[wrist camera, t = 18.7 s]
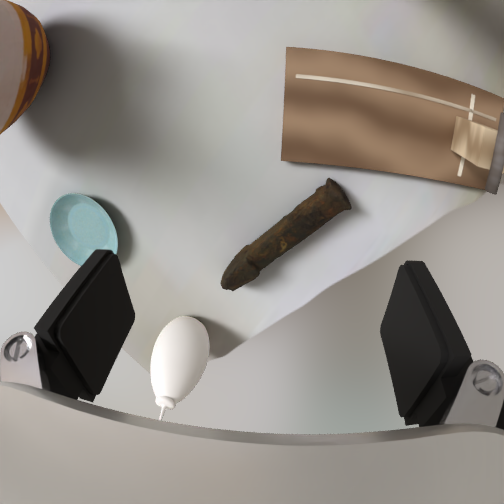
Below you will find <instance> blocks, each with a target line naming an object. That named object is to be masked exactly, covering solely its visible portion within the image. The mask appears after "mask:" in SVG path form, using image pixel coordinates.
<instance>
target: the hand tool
mask: <svg viewBox="0 0 504 504" xmlns="http://www.w3.org/2000/svg"><path fill="white" fill-rule="evenodd" d="M350 209H352V207H351V204H350V202H349V199H348V198H347V196H346V194H345V193H344V191H343V190H342V189H341V187H340V186H339V185H338V184H337V183H336V181H333V180H332V179H330V178H328V179H327V181H326V184H325V185H324V186H321V187H319V188H317V189H316V192H315V193H314V194H313V195H311V196H310V197H309V198H307V199H306V200H304V201H303V202H302V203H301V204H299V205H298V206H297V207H296V208H295V209H294V210H293V211H292V212H291V213H289V214H288V215H286V216H284V217H283V219H281V220H280V221H279V222H278V223H277V224H275V225H274V226H273V227H272V228H270V229H269V230H268V231H267V232H265V233H264V234H263V235H262V236H260V237H259V238H258V239H257V240H255V241H254V242H253V243H252V244H250V245H246V246H245V247H244V248H243V249H242V250H241V251H240V252H239V253H238V254H237V255H236V256H235V258H234V259H233V260H232V261H231V263H230V264H229V266H228V267H227V269H226V270H225V272H224V274H223V276H222V280H221V286H222V288H223V289H226V290H228V289H229V290H232V291H234V290H236V289H237V288H239V287H241V286H242V285H244V284H246V283H248V282H250V281H252V280H254V279H255V278H256V277H257V276H259V273H260V271H261V270H262V269H263V268H265V267H266V266H267V265H269V264H270V263H271V262H273V261H274V260H275V259H276V258H278V257H280V256H281V255H283V254H284V253H285V252H287V251H288V250H290V249H291V248H293V247H294V246H296V245H297V244H298V243H300V242H301V241H302V240H304V239H305V238H307V237H308V236H309V235H311V234H312V233H313V232H315V231H316V230H317V229H319V228H320V227H322V226H323V225H324V224H325V223H327V222H328V221H329V220H331V219H332V218H333V217H334V216H336V215H337V214H339V213H340V212H342V211H344V210H350Z"/></svg>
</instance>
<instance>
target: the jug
mask: <svg viewBox="0 0 504 504" xmlns="http://www.w3.org/2000/svg"><path fill="white" fill-rule="evenodd" d="M49 63H50V49H49V44H48V40H47V37H46V34H45V32H44V29H43V27H42V25H41V23H40V21H39V20H38V19H37V18H36V17H35V16H34V15H33V14H31V13H30V12H29V11H28V10H26V9H25V8H24V7H22V6H20V5H17V4H15V3H13V2H10V1H7V0H0V134H1V133H2V132H4V131H5V130H6V129H7V128H9V127H10V126H11V125H12V124H13V123H14V122H15V121H16V120H17V119H18V118H19V117H20V116H21V115H22V114H23V113H24V112H25V111H26V110H27V108H28V107H29V106H30V105H31V103H32V102H33V100H34V99H35V97H36V95H37V93H38V91H39V89H40V87H41V85H42V83H43V81H44V78H45V76H46V73H47V71H48V68H49Z"/></svg>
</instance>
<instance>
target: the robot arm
mask: <svg viewBox="0 0 504 504" xmlns="http://www.w3.org/2000/svg"><path fill="white" fill-rule="evenodd" d="M134 320H135V312H134V309H133V306H132V302H131V299H130V296H129V293H128V290H127V286H126V283H125V280H124V276H123V273H122V269H121V266H120V262H119V259H118V256H117V255H116V254H114V252H113V251H112V250H108V249H96V250H95V251H94V252H93V253H92V254H91V255H90V256H89V258H88V259H87V260H86V261H85V262H84V263H83V265H82V266H81V267H80V268H79V269H78V271H77V272H76V273H75V274H74V276H73V277H72V278H71V279H70V281H69V282H68V283H67V284H66V286H65V287H64V288H63V289H62V291H61V292H60V293H59V295H58V296H57V297H56V299H55V300H54V301H53V302H52V304H51V305H50V306H49V308H48V309H47V310H46V312H45V313H44V314H43V316H42V317H41V319H40V320H39V322H38V323H37V324H36V326H35V327H34V329H35V330H36V332H37V334H36V336H35V337H34V336H33V335H32V334H31V333H29V332H19V333H16V334H14V335H12V336H11V337H9V338H8V339H7V340H6V341H5V343H4V344H3V346H2V348H1V352H0V504H504V373H503V371H502V370H501V369H500V368H499V367H498V366H497V365H495V364H494V363H493V362H490V361H487V360H477V361H474V362H473V360H472V357H471V353H470V350H469V348H468V346H467V344H466V342H465V340H464V337H463V335H462V333H461V331H460V329H459V327H458V325H457V323H456V321H455V319H454V317H453V315H452V313H451V311H450V309H449V307H448V305H447V303H446V301H445V299H444V297H443V295H442V293H441V292H440V290H439V288H438V286H437V284H436V283H435V281H434V279H433V277H432V276H431V274H430V272H429V270H428V268H427V267H426V265H425V263H424V262H423V261H406V262H405V264H404V265H401V266H400V267H399V270H398V273H397V277H396V280H395V283H394V287H393V290H392V294H391V297H390V300H389V303H388V306H387V309H386V312H385V315H384V318H383V321H382V324H381V328H380V333H381V338H382V342H383V345H384V349H385V353H386V357H387V361H388V366H389V370H390V374H391V378H392V383H393V387H394V392H395V396H396V401H397V405H398V411H399V415H400V416H401V417H404V419H405V425H406V426H407V425H413V424H419V427H416V428H409V429H400V430H390V431H378V432H364V433H348V434H317V435H316V434H312V435H311V434H272V433H271V434H270V433H255V432H240V431H230V430H221V429H212V428H205V427H197V426H190V425H183V424H178V423H171V422H166V421H161V420H155V419H151V418H146V417H141V416H136V415H132V414H128V413H123V412H119V411H115V410H111V409H107V408H103V407H100V406H96V405H93V404H89V403H86V402H82V401H79V400H77V399H78V397H80V398H81V399H84V400H87V401H90V402H93V401H94V399H95V396H96V395H98V394H100V392H101V391H102V388H103V386H104V384H105V382H106V380H107V377H108V375H109V373H110V371H111V369H112V366H113V364H114V362H115V360H116V358H117V356H118V354H119V352H120V350H121V347H122V345H123V343H124V341H125V339H126V337H127V335H128V333H129V331H130V329H131V327H132V325H133V323H134Z"/></svg>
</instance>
